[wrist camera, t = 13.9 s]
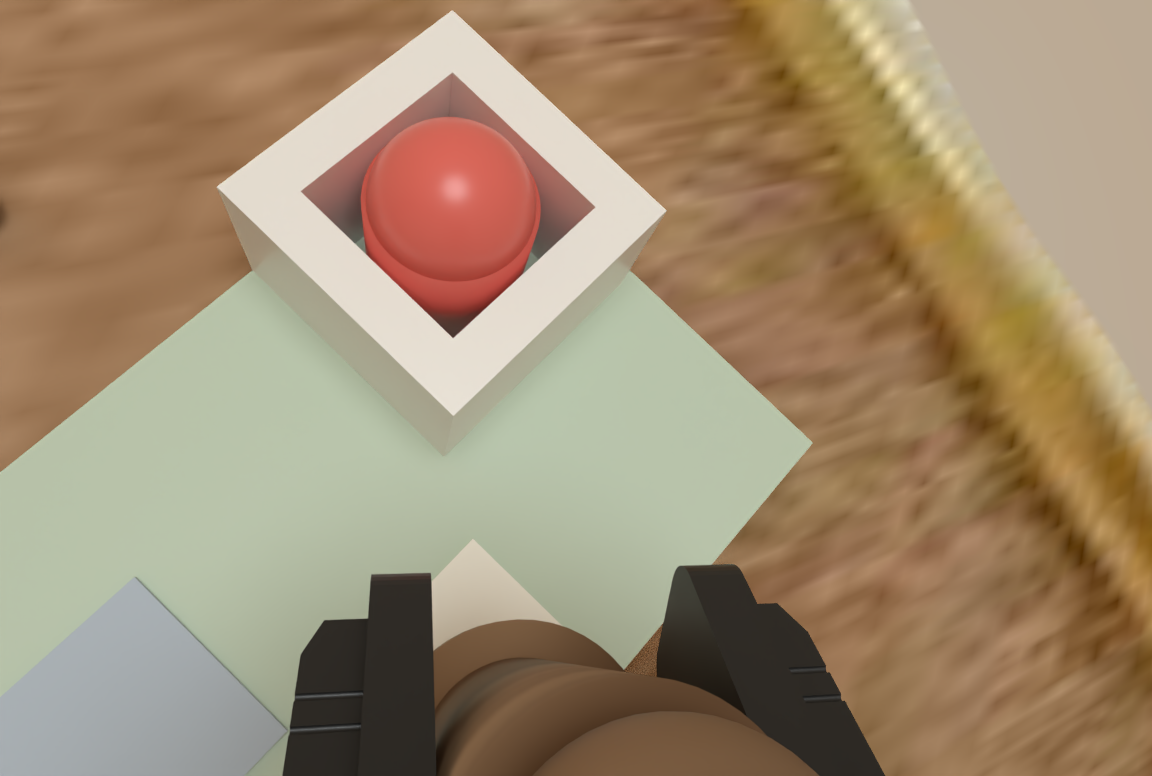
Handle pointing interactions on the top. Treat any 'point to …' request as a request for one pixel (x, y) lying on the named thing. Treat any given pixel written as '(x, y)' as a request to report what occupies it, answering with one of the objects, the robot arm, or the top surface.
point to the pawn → (582, 713)
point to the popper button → (450, 216)
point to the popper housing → (370, 297)
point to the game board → (344, 523)
